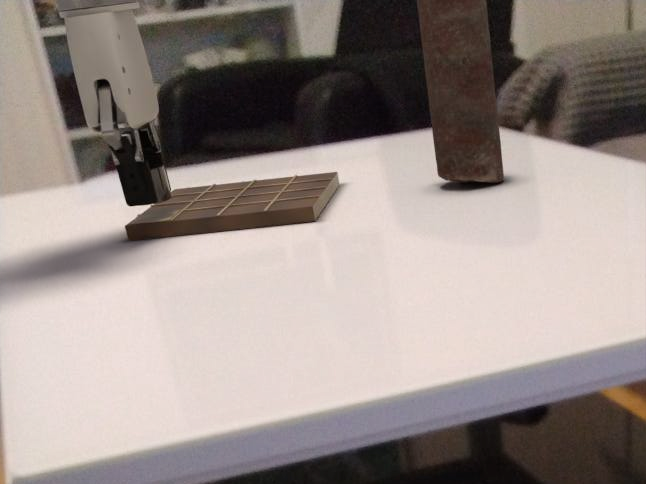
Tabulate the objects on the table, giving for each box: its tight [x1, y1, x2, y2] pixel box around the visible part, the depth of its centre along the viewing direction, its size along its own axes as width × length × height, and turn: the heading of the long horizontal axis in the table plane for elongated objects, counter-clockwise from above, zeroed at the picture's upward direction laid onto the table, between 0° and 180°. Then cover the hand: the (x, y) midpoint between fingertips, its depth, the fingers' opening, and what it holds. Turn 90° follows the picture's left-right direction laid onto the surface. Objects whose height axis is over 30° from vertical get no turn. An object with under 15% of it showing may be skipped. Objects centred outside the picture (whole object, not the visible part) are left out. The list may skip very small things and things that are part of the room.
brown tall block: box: [416, 0, 505, 185], centre depth 109 cm, size 8×7×20 cm
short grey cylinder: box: [140, 164, 172, 207], centre depth 107 cm, size 4×4×3 cm
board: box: [124, 171, 340, 242], centre depth 114 cm, size 20×20×2 cm
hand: (149, 197), depth 107 cm, fingers closed on short grey cylinder, 4 cm apart
